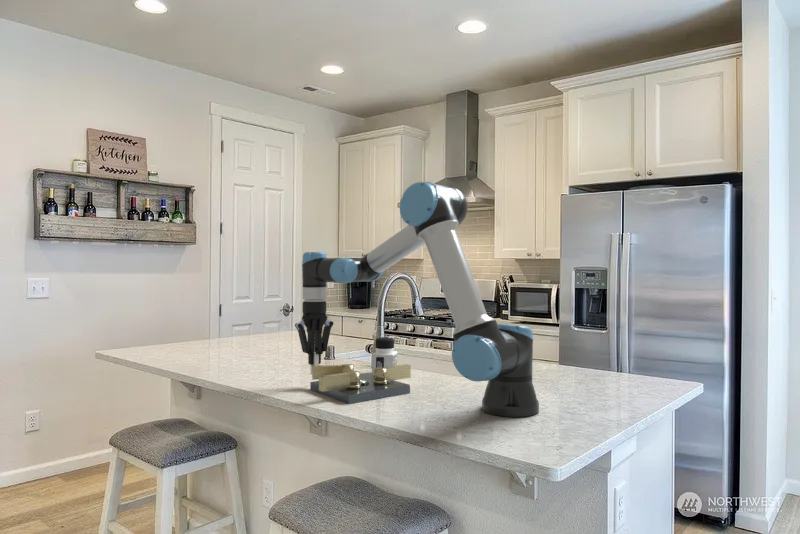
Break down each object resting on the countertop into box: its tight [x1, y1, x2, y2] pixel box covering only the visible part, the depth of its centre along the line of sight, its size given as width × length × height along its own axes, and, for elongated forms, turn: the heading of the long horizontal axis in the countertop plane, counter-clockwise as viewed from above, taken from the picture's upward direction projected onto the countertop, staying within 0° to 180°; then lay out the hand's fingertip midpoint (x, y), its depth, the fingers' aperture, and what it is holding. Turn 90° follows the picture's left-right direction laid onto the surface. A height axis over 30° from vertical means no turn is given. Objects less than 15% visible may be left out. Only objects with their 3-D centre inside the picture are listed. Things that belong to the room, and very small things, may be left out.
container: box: [371, 336, 399, 375], centre depth 206 cm, size 8×8×13 cm
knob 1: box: [318, 370, 361, 392], centre depth 170 cm, size 13×4×4 cm, turn 128°
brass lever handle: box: [311, 363, 355, 381], centre depth 184 cm, size 13×4×4 cm, turn 100°
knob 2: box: [373, 363, 412, 384], centre depth 182 cm, size 13×4×4 cm, turn 128°
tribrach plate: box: [309, 373, 411, 405], centre depth 179 cm, size 22×22×3 cm
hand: (314, 374), depth 186 cm, fingers closed
